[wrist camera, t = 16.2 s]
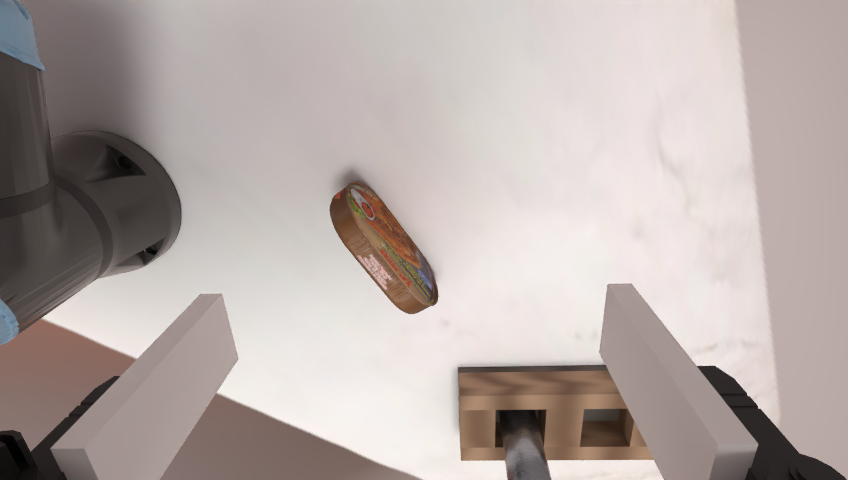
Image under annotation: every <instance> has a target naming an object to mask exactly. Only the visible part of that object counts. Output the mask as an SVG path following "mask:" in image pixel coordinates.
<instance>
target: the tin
mask: <svg viewBox="0 0 848 480" xmlns="http://www.w3.org/2000/svg"><path fill="white" fill-rule="evenodd" d="M330 215H331V219H332V222H333V225H334V228H335V230H336V232H337V233H338V235H339V237H340V239H341V240H342V242H343V243H344V245H345V246H346V247H347V248H348V250H349V251H350V252H351V253H352V255H353V256H354V257H355V258H356V260H357V261H358V262H359V263H360V264H361V266H362V267H363V268H364V269H365V270H366V272H367V273H368V274H369V275H370V277H371V278H372V279H373V280H374V281H375V282H376V284H377V285H378V286H379V287H380V288H381V290H382V291H383V292H384V293H385V294H386V296H387V297H388V298H389V299H390V300H391V302H392V303H393V304H394V305H395V306H396V307H398V308H399V309H400V310H402V311H403V312H405V313H408V314H415V313H418V312H420V311H422V310H424V309H426V308H428V307H430V306H434V305H435V304H436V303H437V301H438V288H437V284H436V281H435V278H434V275H433V272H432V270H431V268H430V266H429V264H428V262H427V261H426V259H425V257H424V256H423V254H422V253H421V252H420V250H419V249H418V248H417V246H416V245H415V244H414V242H413V241H412V240H411V239H410V237H409V236H408V235H407V233H406V232H405V231H404V229H403V228H402V227H401V226H400V224H399V223H398V222H397V220H396V219H395V217H394V216H393V215H392V214H391V212H390V211H389V210H388V208H387V207H386V206H385V204H384V203H383V202H382V201H381V199H380V198H379V197H378V196H377V195H376V194H375V193H374V192H373V191H372V190H371V189H370V188H368V187H367V186H365V185H364V184H362V183H359V182H351V183H350V184H349V185H348V186H347V187H346V188H344V189H343V190H342V191H340V192H339V193H337V194H336V195H335V196H334V197H333V199H332V202H331V205H330Z"/></svg>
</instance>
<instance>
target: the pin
mask: <svg viewBox="0 0 848 480" xmlns="http://www.w3.org/2000/svg"><path fill="white" fill-rule="evenodd" d="M499 418H500V425H501V433H502V440H503V448H504V456H505V463H506V471H507V478H508V480H551V476H550V472H549V468H548V463H547V459H546V455H545V450H544V446H543V442H542V437H541V433H540V429H539V424H538V420H537V416H536V412H535V410H499Z"/></svg>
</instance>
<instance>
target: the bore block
mask: <svg viewBox="0 0 848 480" xmlns="http://www.w3.org/2000/svg"><path fill="white" fill-rule="evenodd" d="M458 383H459V423H460V448H461V461H470V460H505V456H504V448H503V440H502V433H501V425H500V418H499V410H535V412H536V416H537V420H538V424H539V429H540V433H541V437H542V442H543V446H544V450H545V455H546V459H547V460H654V459H653V457H652V455H651V453H650V451H649V449H648V447H647V445H646V443H645V441H644V439H643V437H642V435H641V433H640V431H639V429H638V428H637V426H636V424H635V422H634V420H633V418H632V416H631V414H630V412H629V410H628V408H627V406H626V404H625V402H624V400H623V398H622V396H621V394H620V392H619V390H618V388H617V386H616V384H615V382H614V380H613V379H612V377H611V375H610V373H609V371H608V369H607V367H606V365H592V366H528V367H464V368H458Z"/></svg>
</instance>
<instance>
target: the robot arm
mask: <svg viewBox="0 0 848 480" xmlns="http://www.w3.org/2000/svg"><path fill="white" fill-rule="evenodd" d="M42 71H45V66H44V64H43V63H42V62H41V61H40V58H39V53H38V47H37V42H36V36H35V31H34V25H33V21H32V18H31V16H30V14H29V12H28V11H27V9H26V8H25V7H24V6H23V5H22V4H21V3H20V2H19V1H18V0H0V345H2V344H5V343H7V342H9V341H10V340H12V339H13V338H14V337H15V336H16V335H18V334H19V333H20V332H22V331H23V330H25V329H26V328H28V327H29V326H31V325H32V324H33V323H35V322H36V321H38V320H39V319H40V318H42V317H43V316H45V315H46V314H48V313H49V312H50V311H52V310H53V309H55V308H56V307H57V306H59V305H60V304H62V303H63V302H65V301H66V300H67V299H69V298H70V297H72V296H73V295H74V294H76V293H77V292H79V291H80V290H82V289H83V288H84V287H86V286H87V285H89V284H90V283H91V282H93V281H94V280H96V279H98V278H103V277H107V276H111V275H116V274H120V273H125V272H129V271H133V270H137V269H139V268H142V267H144V266H146V265H148V264H150V263H151V262H153V261H154V260H155V259H157V258H158V257H160V256H161V255H162V254H164V253H165V252H166V251H167V250H168V249H169V248H170V247H171V245H172V244H173V243H174V241H175V239H176V237H177V235H178V232H179V228H180V223H181V209H180V203H179V199H178V195H177V192H176V190H175V188H174V185H173V183H172V182H171V180H170V178H169V176H168V175H167V173H166V172H165V171H164V169H163V168H162V167H161V165H160V164H159V163H158V162H157V161H156V160H155V159H154V158H153V157H152V156H151V155H150V154H148V153H147V152H146V151H145V150H143V149H142V148H141V147H139V146H138V145H136V144H134V143H133V142H131V141H129V140H127V139H125V138H123V137H120V136H117V135H114V134H111V133H107V132H101V131H80V132H75V133H71V134H67V135H63V136H59V137H56V138H54V139H52V140H50V133H49V124H48V116H47V108H46V100H45V92H44V83H43V75H42ZM599 353H600V355H601V357H602V359H603V361H604V363H605V365H606V367H607V369H608V371H609V373H610V375H611V377H612V379H613V380H614V382H615V384H616V386H617V388H618V390H619V392H620V394H621V396H622V398H623V400H624V402H625V404H626V406H627V408H628V410H629V412H630V414H631V416H632V418H633V420H634V422H635V424H636V426H637V428H638V429H639V431H640V433H641V435H642V437H643V439H644V441H645V443H646V445H647V447H648V449H649V451H650V453H651V455H652V457H653V459H654V461H655V463H656V465H657V467H658V469H659V471H660V473H661V475H662V477H663V479H664V480H846V478H845V477H844V476H842V475H841V474H840V473H838V472H837V471H836V470H835V469H833V468H832V467H831V466H829V465H827V464H825V463H823V462H821V461H819V460H817V459H815V458H812V457H808V456H806V455H802V454H799V453H798V451H797V450H796V449H795V448H794V447H793V446H792V444H791V443H790V442H789V441H788V440H787V439H786V438H785V436H784V435H783V434H782V433H781V432H780V431H779V430H778V428H777V427H776V426H775V425H774V424H773V423H772V422H771V420H770V419H769V418H768V417H767V416H766V415H765V414H764V412H763V411H762V410H761V409H758V406H757V404H756V403H755V402H754V401H753V400H752V399H751V398H750V396H747V393H746V392H745V391H744V390H743V388H742V387H741V386H740V385H739V384H738V383H737V382H736V380H735V379H734V378H732V377H731V376H729V375H728V374H726V373H725V372H723V371H722V370H720V369H719V368H717V367H716V366H696V365H695V363H694V362H693V361H692V360H691V358H690V357H689V356H688V355H687V353H686V352H685V351H684V350H683V348H682V347H681V346H680V344H679V343H678V342H677V341H676V339H675V338H674V337H673V336H672V334H671V333H670V332H669V331H668V329H667V328H666V327H665V326H664V324H663V323H662V322H661V320H660V319H659V318H658V317H657V315H656V314H655V313H654V312H653V310H652V309H651V308H650V307H649V305H648V304H647V303H646V302H645V300H644V299H643V298H642V297H641V295H640V294H639V293H638V291H637V290H636V289H635V288H634V286H633V285H632V284H608V285H607V293H606V301H605V310H604V318H603V326H602V334H601V343H600V351H599ZM237 360H238V355H237V351H236V347H235V343H234V339H233V335H232V332H231V328H230V324H229V320H228V316H227V312H226V308H225V304H224V300H223V296H222V294H200V295H199V296H198V297H197V298H196V299H195V300H194V301H193V302H192V304H191V305H190V306H189V307H188V308H187V309H186V310H185V311H184V312H183V313H182V314H181V315H180V316H179V317H178V318H177V319H176V320H175V321H174V322H173V323H172V324H171V325H170V326H169V327H168V328H167V329H166V330H165V331H164V332H163V333H162V334H161V335H160V336H159V337H158V338H157V339H156V340H155V341H154V343H153V344H152V345H151V346H150V347H149V348H148V349H147V350H146V351H145V352H144V353H143V354H142V355H141V356H140V357H139V358H138V359H137V360H136V361H135V362H134V363H133V364H132V365H131V366H130V367H129V368H128V369H127V370H126V371H125V373H123V374H122V375H121V376H114V377H113V378H111V379H109V380H108V381H106V382H105V383H103V384H102V385H100V386H98V387H97V388H95V389H94V390H93V391H92V392H91V393H90V394H89V395H88V396H87V397H86V398H85V399H84V400H83V401H82V402H81V405H80V406H77V407H76V408H75V409H74V410H73V411H72V412H71V413H70V414H69V417H66V418H65V419H64V420H63V421H62V422H61V423H60V424H59V425H58V426H57V427H56V428H55V429H54V430H53V431H52V432H51V433H50V434H49V435H48V436H47V437H45V439H44V440H42V441H41V442H40V444H38V445H37V446H36V447H35V448H34V449H33V450H32V451H31V452H30V450H29V448H28V446H27V444H26V442H25V440H24V438H23V436H22V435H21V433H20V432H17V431H13V430H11V431H0V480H160V478H161V477H162V475H163V474H164V472H165V470H166V469H167V467H168V466H169V464H170V463H171V461H172V460H173V458H174V457H175V455H176V454H177V452H178V450H179V449H180V448H181V446H182V444H183V443H184V441H185V440H186V438H187V437H188V435H189V434H190V432H191V430H192V429H193V428H194V426H195V424H196V423H197V421H198V420H199V418H200V417H201V415H202V414H203V412H204V411H205V409H206V408H207V406H208V405H209V403H210V401H211V400H212V398H213V397H214V395H215V394H216V392H217V391H218V389H219V388H220V386H221V385H222V383H223V382H224V380H225V379H226V377H227V375H228V374H229V372H230V371H231V369H232V368H233V366H234V365H235V363H236V362H237Z"/></svg>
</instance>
